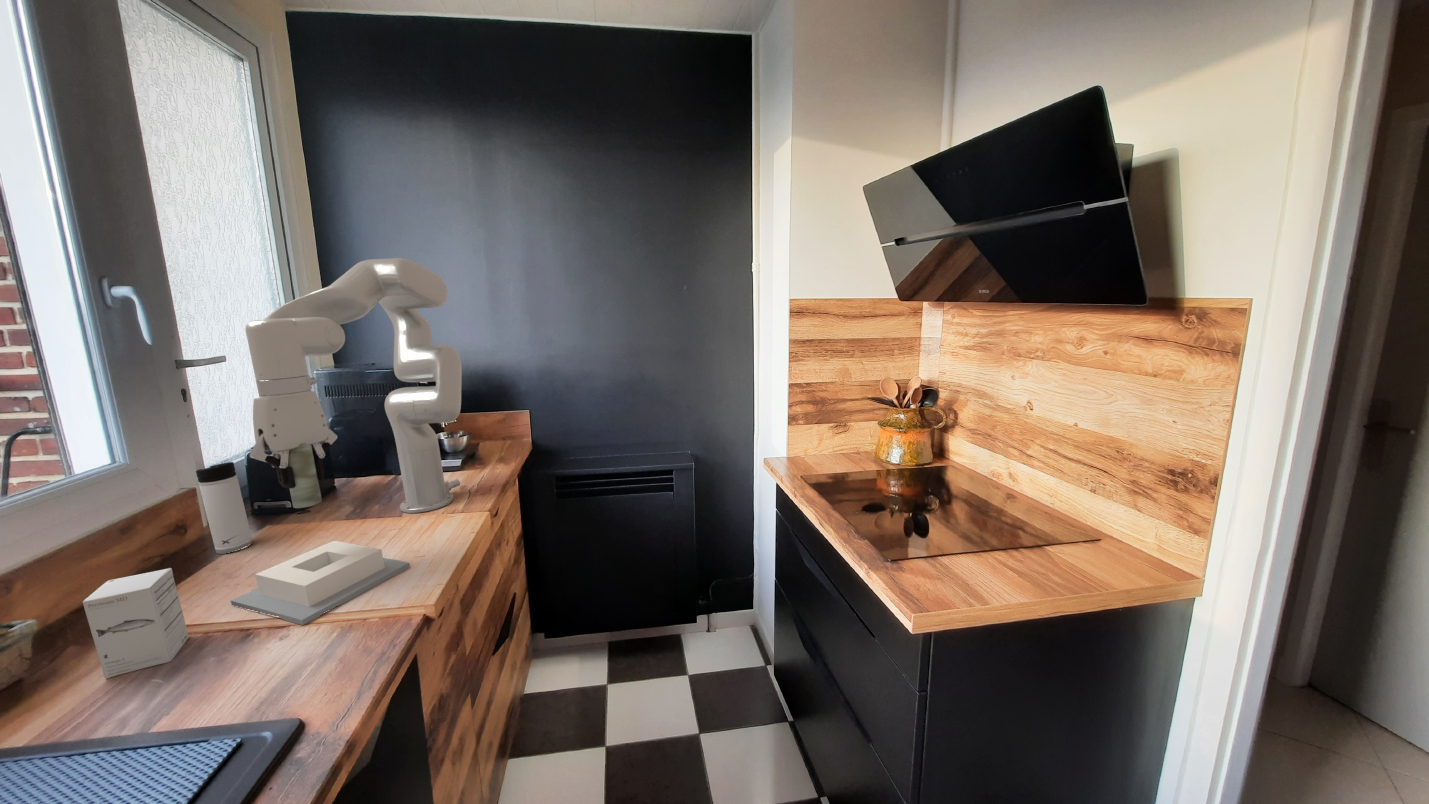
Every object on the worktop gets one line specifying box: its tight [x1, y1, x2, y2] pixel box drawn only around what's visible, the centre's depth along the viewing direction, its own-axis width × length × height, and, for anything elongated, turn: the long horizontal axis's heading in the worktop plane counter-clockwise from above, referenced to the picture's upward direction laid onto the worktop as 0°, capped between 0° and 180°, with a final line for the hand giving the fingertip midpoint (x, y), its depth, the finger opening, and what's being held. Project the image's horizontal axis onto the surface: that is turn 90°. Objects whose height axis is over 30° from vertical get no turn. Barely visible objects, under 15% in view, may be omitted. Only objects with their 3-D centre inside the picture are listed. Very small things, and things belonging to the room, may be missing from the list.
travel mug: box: [195, 461, 253, 555], centre depth 117 cm, size 6×7×20 cm
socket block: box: [230, 540, 411, 626], centre depth 100 cm, size 20×20×5 cm
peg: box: [288, 443, 323, 509], centre depth 99 cm, size 4×4×12 cm
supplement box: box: [82, 567, 189, 680], centre depth 80 cm, size 7×7×13 cm
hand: (303, 481), depth 99 cm, fingers closed on peg, 4 cm apart
